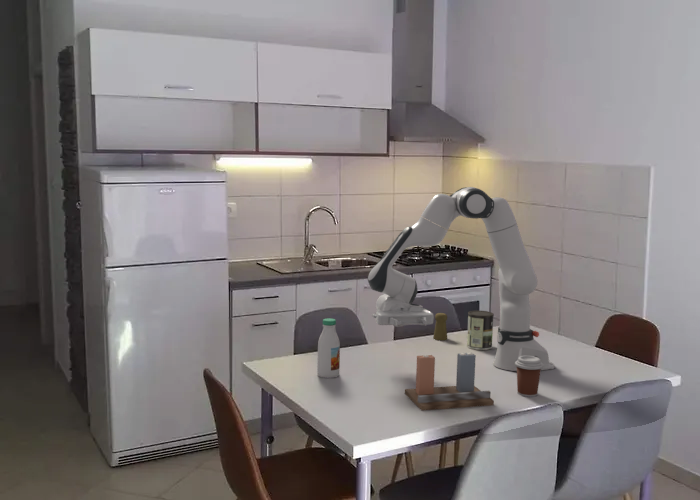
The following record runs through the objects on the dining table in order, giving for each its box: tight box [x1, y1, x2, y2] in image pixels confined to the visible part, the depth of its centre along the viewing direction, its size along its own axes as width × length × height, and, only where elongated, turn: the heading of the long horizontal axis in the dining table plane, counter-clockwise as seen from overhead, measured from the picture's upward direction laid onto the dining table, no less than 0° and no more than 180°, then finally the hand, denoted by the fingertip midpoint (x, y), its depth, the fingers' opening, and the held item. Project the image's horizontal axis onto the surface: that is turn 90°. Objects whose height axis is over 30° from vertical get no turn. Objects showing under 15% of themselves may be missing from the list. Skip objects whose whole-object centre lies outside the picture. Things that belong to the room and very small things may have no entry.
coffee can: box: [466, 310, 494, 351], centre depth 298 cm, size 10×10×14 cm
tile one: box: [415, 354, 436, 395], centre depth 235 cm, size 5×3×12 cm, turn 105°
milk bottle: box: [316, 317, 341, 379], centre depth 256 cm, size 8×8×20 cm
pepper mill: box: [432, 312, 448, 342], centre depth 310 cm, size 6×6×11 cm
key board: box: [404, 385, 495, 412], centre depth 235 cm, size 24×16×4 cm, turn 105°
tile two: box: [455, 352, 476, 392], centre depth 239 cm, size 5×3×12 cm, turn 105°
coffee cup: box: [515, 356, 543, 398], centre depth 241 cm, size 9×9×12 cm
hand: (411, 323), depth 247 cm, fingers open, 8 cm apart
